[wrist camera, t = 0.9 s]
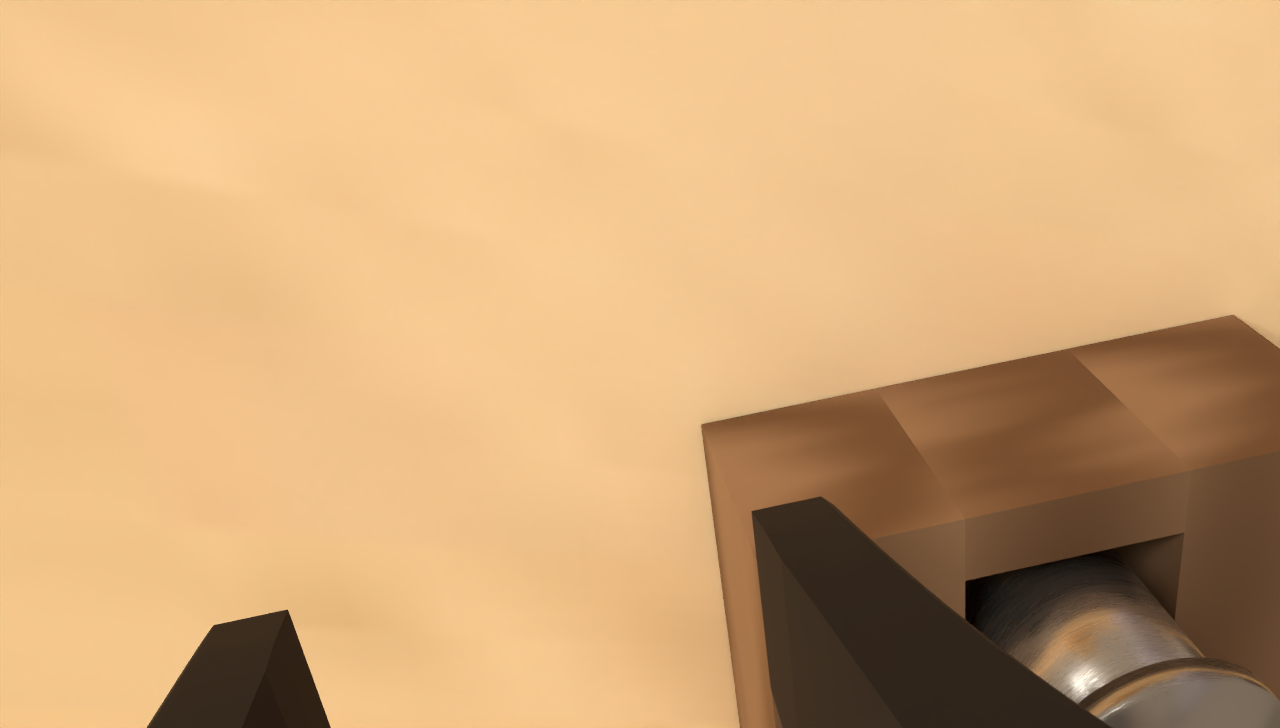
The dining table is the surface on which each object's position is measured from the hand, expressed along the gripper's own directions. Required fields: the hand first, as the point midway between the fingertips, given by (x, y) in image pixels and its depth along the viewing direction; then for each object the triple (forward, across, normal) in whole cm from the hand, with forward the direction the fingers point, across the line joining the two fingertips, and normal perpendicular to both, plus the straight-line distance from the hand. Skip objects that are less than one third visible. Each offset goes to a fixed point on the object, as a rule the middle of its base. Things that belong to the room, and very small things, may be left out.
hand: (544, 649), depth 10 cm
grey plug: (+7, -8, +7) cm, 13 cm away
